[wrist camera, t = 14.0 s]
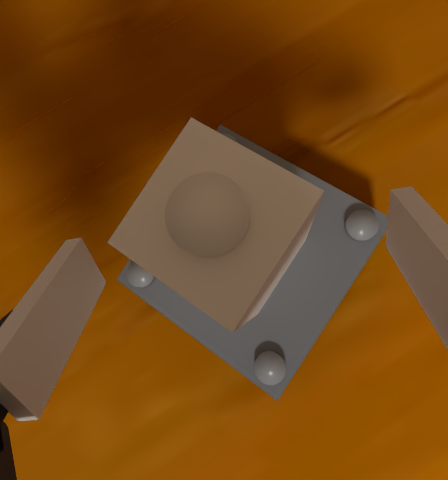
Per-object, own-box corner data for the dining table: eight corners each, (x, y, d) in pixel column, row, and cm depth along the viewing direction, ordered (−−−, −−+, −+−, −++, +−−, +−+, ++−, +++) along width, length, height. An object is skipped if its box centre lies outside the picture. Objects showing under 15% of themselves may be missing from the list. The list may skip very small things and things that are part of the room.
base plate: (139, 281, 28) (112, 279, 24) (229, 147, 29) (218, 120, 24) (278, 384, 25) (277, 403, 21) (377, 230, 26) (396, 217, 21)
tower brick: (187, 265, 24) (96, 239, 12) (233, 195, 24) (185, 106, 12) (258, 313, 22) (228, 335, 11) (306, 239, 22) (326, 183, 11)
